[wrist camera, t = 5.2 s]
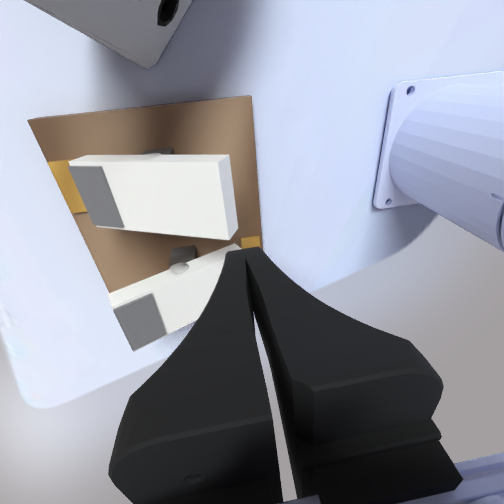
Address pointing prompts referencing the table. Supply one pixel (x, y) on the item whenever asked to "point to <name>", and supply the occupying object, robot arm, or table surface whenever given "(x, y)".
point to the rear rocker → (167, 298)
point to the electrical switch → (122, 23)
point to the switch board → (158, 131)
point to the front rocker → (159, 193)
